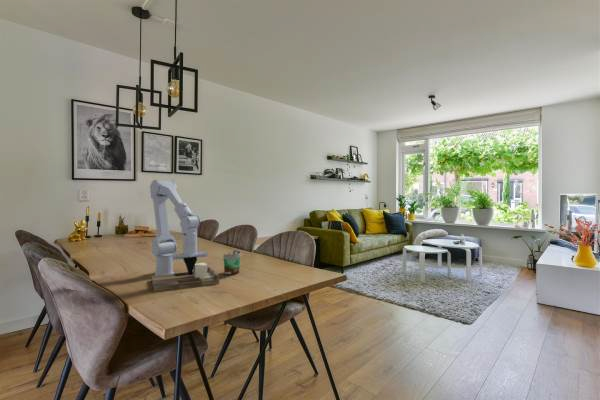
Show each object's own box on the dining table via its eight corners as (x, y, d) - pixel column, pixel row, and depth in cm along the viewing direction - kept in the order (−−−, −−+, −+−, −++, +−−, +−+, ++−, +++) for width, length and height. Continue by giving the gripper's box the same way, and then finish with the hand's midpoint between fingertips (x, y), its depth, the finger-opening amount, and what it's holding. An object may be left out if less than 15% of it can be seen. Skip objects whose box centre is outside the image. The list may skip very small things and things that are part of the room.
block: (193, 275, 139) (193, 263, 139) (204, 273, 141) (204, 262, 141) (195, 277, 134) (195, 266, 134) (207, 276, 137) (207, 265, 137)
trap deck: (151, 280, 137) (151, 272, 137) (209, 273, 149) (209, 266, 149) (154, 292, 121) (154, 283, 121) (219, 283, 133) (219, 275, 133)
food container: (235, 277, 144) (235, 255, 144) (223, 276, 145) (223, 254, 145) (245, 270, 156) (245, 250, 156) (233, 269, 157) (234, 249, 157)
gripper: (173, 246, 129) (173, 279, 129) (209, 243, 135) (209, 274, 136) (171, 243, 135) (171, 274, 135) (205, 241, 142) (205, 271, 142)
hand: (190, 274), depth 136 cm, fingers closed
